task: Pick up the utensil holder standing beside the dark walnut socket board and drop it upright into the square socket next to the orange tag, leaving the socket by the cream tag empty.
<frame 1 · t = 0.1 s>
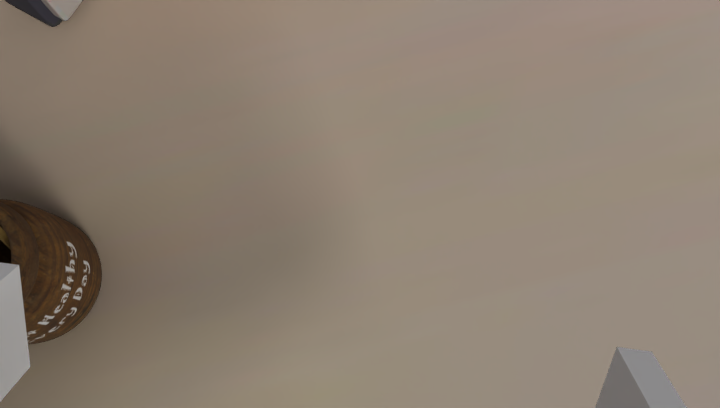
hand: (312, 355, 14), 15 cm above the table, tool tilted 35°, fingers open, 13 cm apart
utensil holder: (46, 277, 29), on the table
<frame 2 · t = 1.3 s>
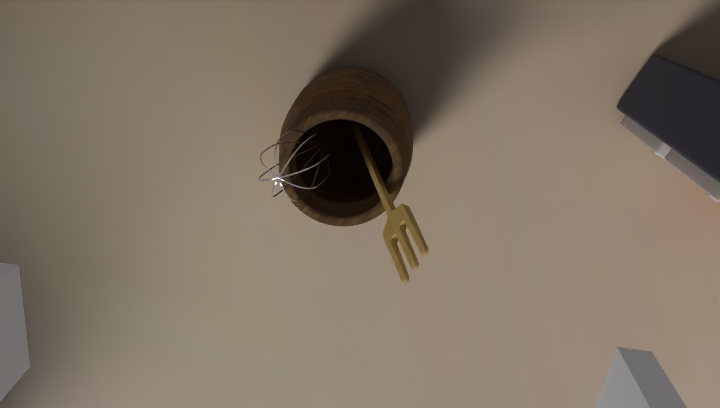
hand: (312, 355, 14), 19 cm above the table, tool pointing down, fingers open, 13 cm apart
utensil holder: (354, 123, 31), on the table
black boxy piece: (719, 131, 30), on the table
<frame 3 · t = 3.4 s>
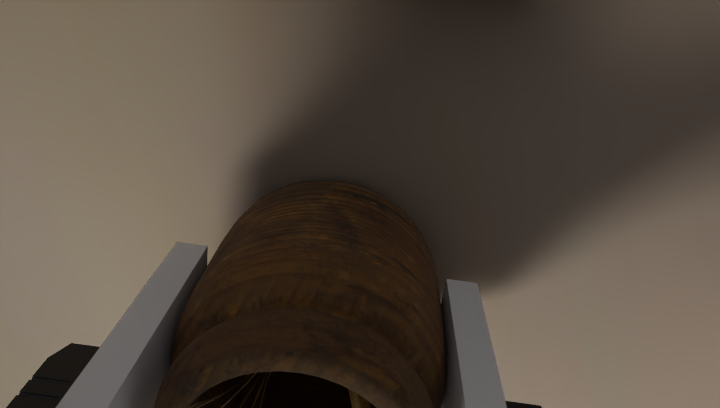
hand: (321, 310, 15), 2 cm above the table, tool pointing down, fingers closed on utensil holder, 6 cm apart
utensil holder: (334, 270, 17), on the table, touching gripper
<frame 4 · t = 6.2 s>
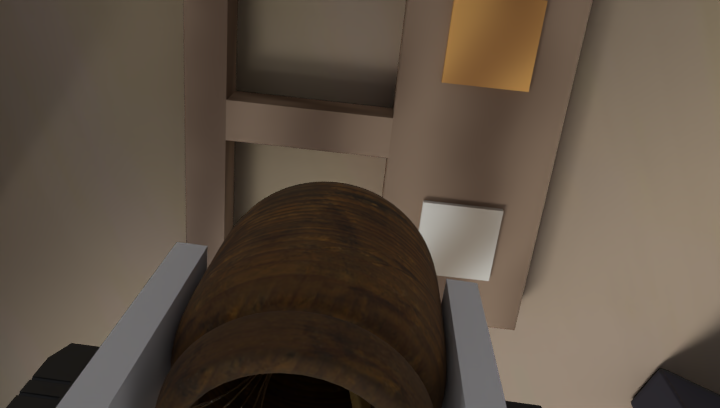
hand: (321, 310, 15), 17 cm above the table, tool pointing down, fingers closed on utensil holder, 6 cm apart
socket board: (371, 125, 31), on the table
utensil holder: (334, 271, 17), point 15 cm above the table, touching gripper
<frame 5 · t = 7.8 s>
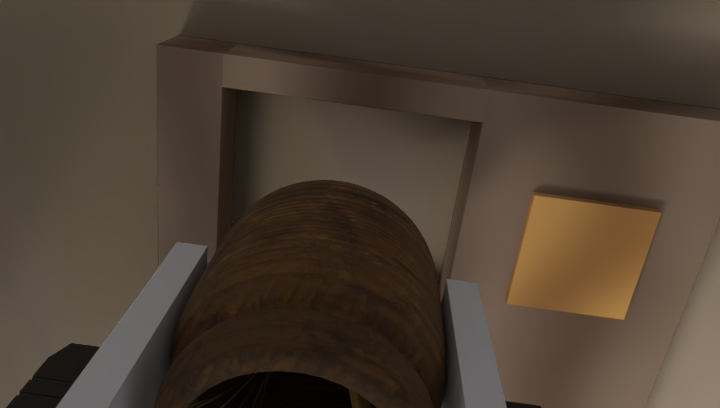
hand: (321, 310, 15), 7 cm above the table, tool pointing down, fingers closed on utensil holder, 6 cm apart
socket board: (404, 326, 24), on the table
utensil holder: (334, 270, 17), point 5 cm above the table, touching gripper
when the fingers open (4 cm above the table, at t = 8.9 s): utensil holder drops 2 cm, resting in socket board.
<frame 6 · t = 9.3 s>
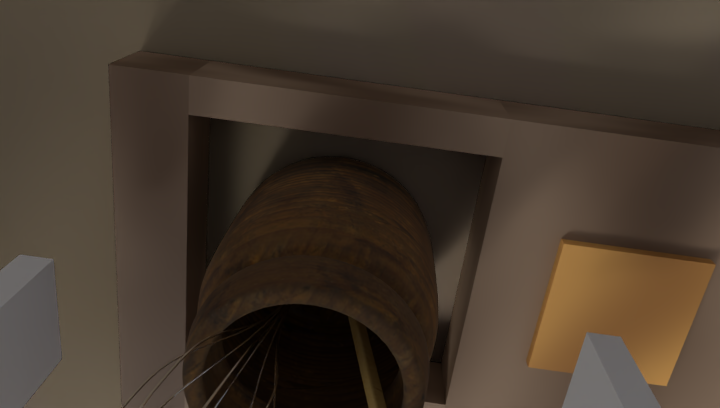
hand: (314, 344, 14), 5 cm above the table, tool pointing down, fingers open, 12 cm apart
socket board: (406, 382, 21), on the table
utensil holder: (338, 240, 19), resting in socket board
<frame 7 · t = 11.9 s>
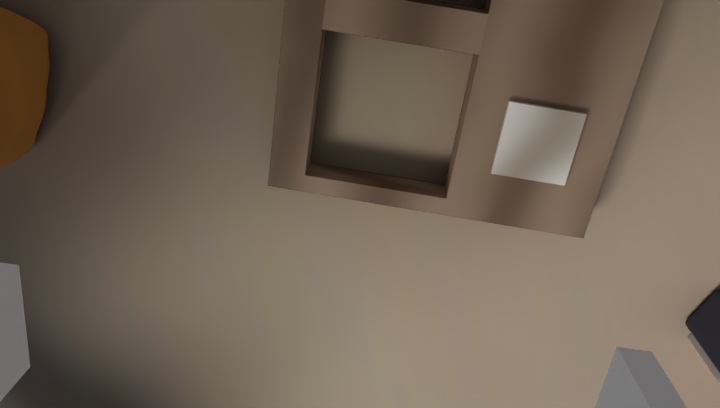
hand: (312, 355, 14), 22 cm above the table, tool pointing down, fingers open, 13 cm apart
socket board: (460, 26, 32), on the table
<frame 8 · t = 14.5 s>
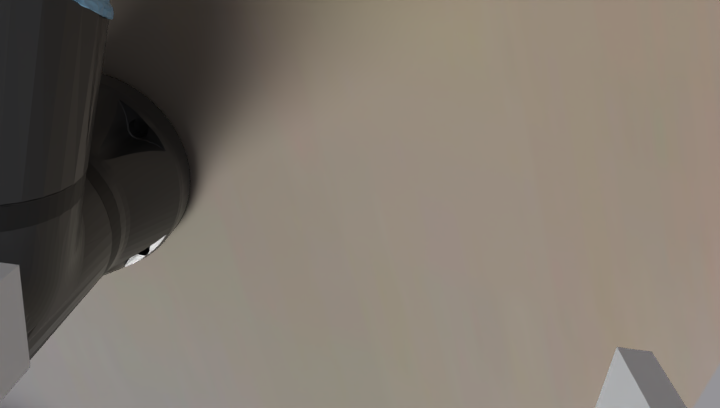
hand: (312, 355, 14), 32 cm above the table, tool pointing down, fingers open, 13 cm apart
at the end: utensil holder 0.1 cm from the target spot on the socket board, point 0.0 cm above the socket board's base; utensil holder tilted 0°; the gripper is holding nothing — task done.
